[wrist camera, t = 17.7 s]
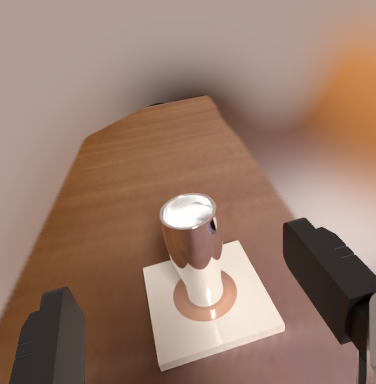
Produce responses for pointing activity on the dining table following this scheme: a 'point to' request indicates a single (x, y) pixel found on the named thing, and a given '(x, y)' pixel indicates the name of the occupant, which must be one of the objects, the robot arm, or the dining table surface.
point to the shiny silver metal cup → (195, 248)
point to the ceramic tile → (208, 320)
